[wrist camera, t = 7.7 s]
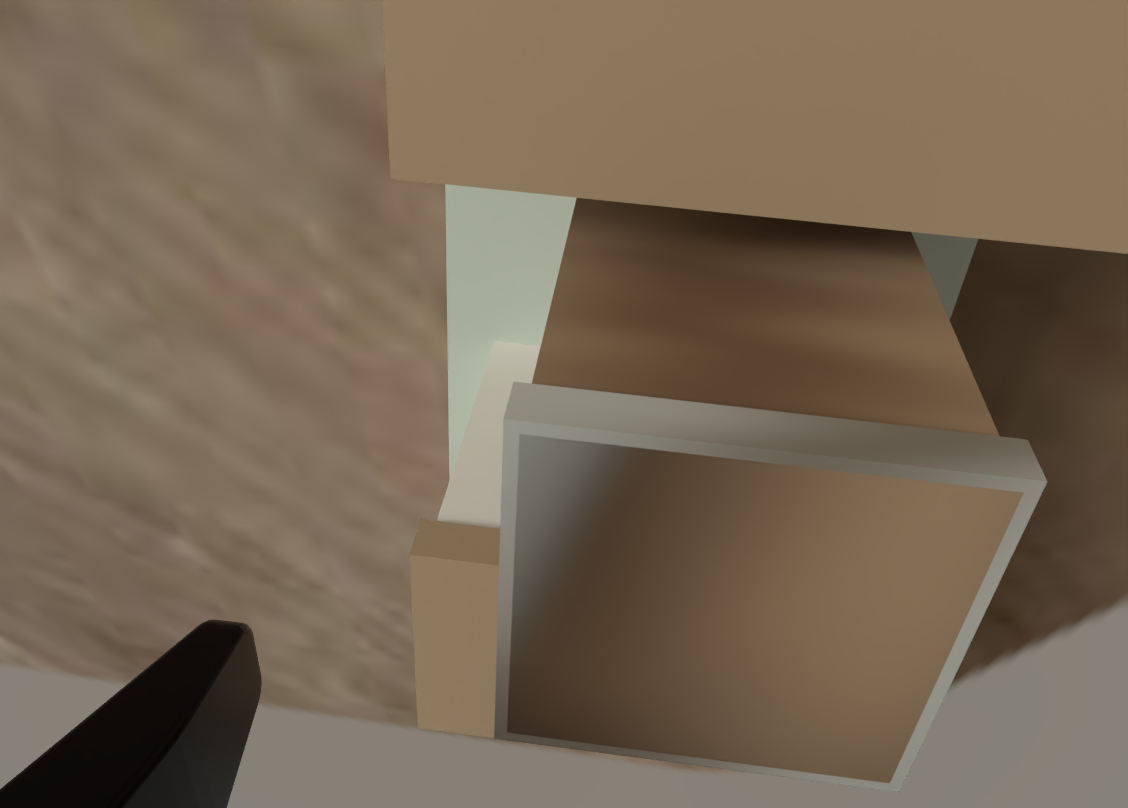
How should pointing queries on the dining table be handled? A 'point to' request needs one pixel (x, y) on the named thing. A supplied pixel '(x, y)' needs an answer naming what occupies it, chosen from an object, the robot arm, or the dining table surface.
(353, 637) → the dining table surface
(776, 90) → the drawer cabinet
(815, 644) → the peg
